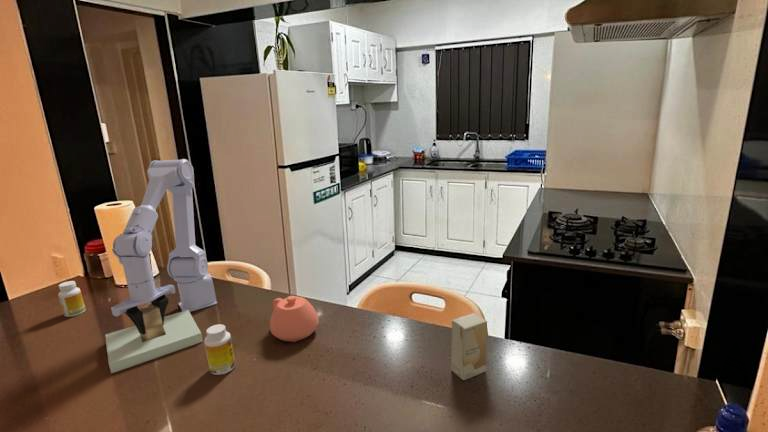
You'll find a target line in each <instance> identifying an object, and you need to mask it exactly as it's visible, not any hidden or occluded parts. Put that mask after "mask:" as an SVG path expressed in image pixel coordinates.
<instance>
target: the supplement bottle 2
mask: <svg viewBox="0 0 768 432" xmlns="http://www.w3.org/2000/svg"><path fill="white" fill-rule="evenodd" d="M203 341H204V342H203V343H204V347H205V352H206V357H207V364H208V368H209V372H210V373H211V374H212V375H216V376H221V375H225V374H227V373H229V372H231V371H232V370H233V369H234V368H235V366H236V360H235V353H234V347H233V341H232V336H231V333H230V332H229V331H227V329H226V325H224V324H219V323H218V324H213V325H212V326H209V327H208V328H207V329H206V336H205V338H204V339H203Z"/></svg>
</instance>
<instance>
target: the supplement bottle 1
mask: <svg viewBox="0 0 768 432" xmlns="http://www.w3.org/2000/svg"><path fill="white" fill-rule="evenodd" d="M58 288H59V292H58V300H59V303H60V307H61V310H62V314H63V315H64V317H67V318H70V317H76V316H80V315H83V313H84V312H86V310H87V309H86V305H85V302H84V298H83V294H82V291H81V289H80V287H77V283H76V281H75V280H69V281H64V282H61V283H60V284H58Z"/></svg>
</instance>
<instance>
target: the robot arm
mask: <svg viewBox="0 0 768 432" xmlns="http://www.w3.org/2000/svg"><path fill="white" fill-rule="evenodd" d="M146 173H147V178H148V180H149V181H148V183H147V187H146V190H145V193H144V194H143V195H144V196H143V198H142V202H141V205H139V206H136V207H134V208H133V210H132V212H131V214H130V216H129V219H128V220H127V223H126V225H125V227H124V229H123V231H122V233H120V234H119V235H117V236H116V237H115V238H114V239H113V241H112V248H111V250H112V253H113V255H114V256H115V257H116V258H117V259H118V263H119V264H121V265H122V269H123V273H124V277H125V280H126V285H127V289H128V294H129V298H126V299H124V300H123V301H122V302H119V303H117V304H115V305H114V306H111V307H110V309H111V314H112V316H115V317H119V316H121V315H122V314H125V315H126V316H127V317H128V318H129V319H130V321H132V323H133V325H134V326H136V327H137V329H138V331H139V333H141V334H142V335H143V334H146V333H145V327H144V324H143V312H142V311H140V310H139V309H140V308H138V307H141V306H143V305H145V304H148V303H150V304H152V305H154V306H156V307H159V310H160V314H161V319H162V323H163V325H164V317H165V316H166V315H165V314H166V309H167V307H168V305H169V302H170V301H169V297H166V296H167V295H170V294H172V295H173V294H175V293H176V288H175V285H173V284H172V283H171V284H167V285H164V286H160V287H156V284H155V283H156V282H155V278H154V274H153V270H152V265H151V261H150V260H151V259H150V256H149V254H150V252H151V250H152V248H153V247H152V246H153V241H152V240H153V234H152V233H153V231H154V228H155V226H156V223H157V220H158V219H159V214H158V212H157V211H156V210H157V208H158V207H159V206H160V204H161V201H162V199H163V197H164V196H165V194H166V193H167V190H168V191H169V192H170V193H171V194H172V205H173V206H172V207H173V221H174V223H173V224H174V236H175V237H174V239H175V248H174V249H172V250H171V251H170V252H169V253H168V261H167V266H166V270H167V273H168V275H169V277H170V278H172V279H173V281H174V282H176V283H177V289H178V293H179V298H180V302H178V306H179V308H180V309H181V312H182V311H185V310H189V312H190V313H191V312H194V311H199V310H201V309H204V308H208V307H211V306H215V305H217V304H218V302H217V297H216V291H215V287H214V286H215V285H214V282H213V278H212V276H211V274H210V273H208V270H209V263H208V261H207V257H206V251H205V250H204V249H202V248H200V247H199V246H197V245H196V234H195V231H196V230H195V219H194V218H195V217H194V216H195V213H194V201H193V200H194V198H193V189H194V188H195V173H194V167H193V164H192V163H191V162H190V161H189V160H188V159H186V158H181V159H165V160H157V159H155V160H152V161H151V162H150V163H149V165H148V169H147V171H146Z"/></svg>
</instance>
